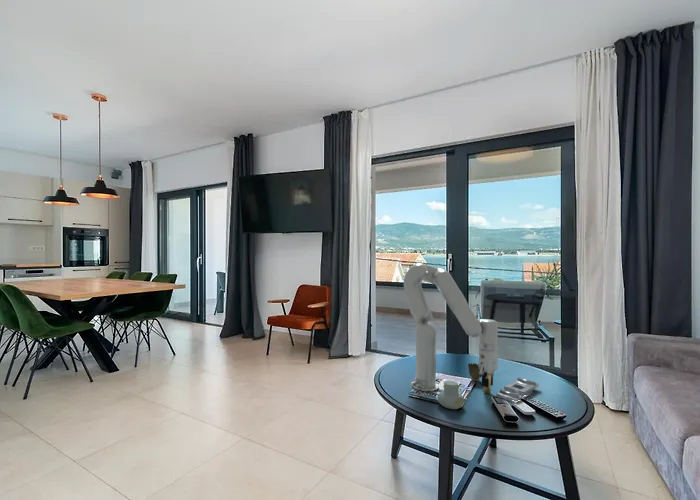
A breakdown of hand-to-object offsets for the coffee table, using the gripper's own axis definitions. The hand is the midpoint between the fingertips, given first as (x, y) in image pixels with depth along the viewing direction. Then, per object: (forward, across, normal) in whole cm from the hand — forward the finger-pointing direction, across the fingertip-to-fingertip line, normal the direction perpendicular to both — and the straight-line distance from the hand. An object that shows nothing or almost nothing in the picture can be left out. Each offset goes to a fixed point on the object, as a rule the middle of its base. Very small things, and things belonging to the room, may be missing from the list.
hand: (487, 385), depth 163 cm
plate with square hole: (+3, +11, -9) cm, 15 cm away
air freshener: (+4, -26, +3) cm, 26 cm away
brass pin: (+3, 0, 0) cm, 3 cm away
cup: (+4, +10, +12) cm, 16 cm away
